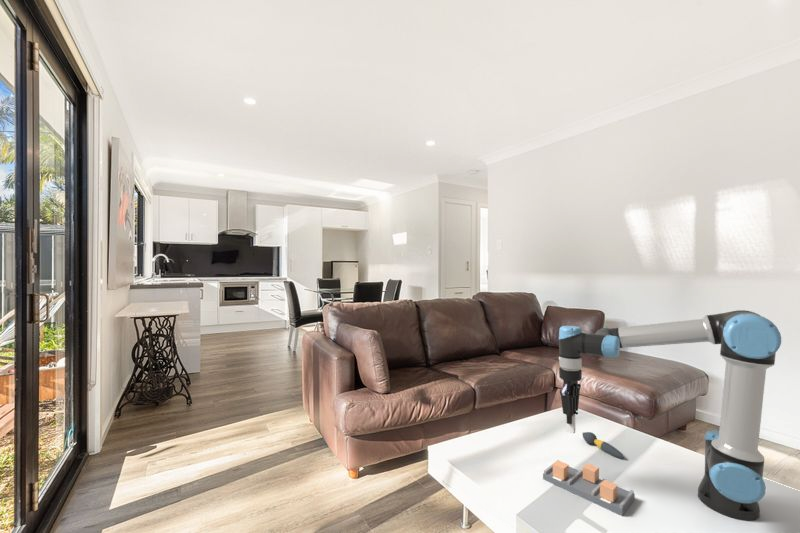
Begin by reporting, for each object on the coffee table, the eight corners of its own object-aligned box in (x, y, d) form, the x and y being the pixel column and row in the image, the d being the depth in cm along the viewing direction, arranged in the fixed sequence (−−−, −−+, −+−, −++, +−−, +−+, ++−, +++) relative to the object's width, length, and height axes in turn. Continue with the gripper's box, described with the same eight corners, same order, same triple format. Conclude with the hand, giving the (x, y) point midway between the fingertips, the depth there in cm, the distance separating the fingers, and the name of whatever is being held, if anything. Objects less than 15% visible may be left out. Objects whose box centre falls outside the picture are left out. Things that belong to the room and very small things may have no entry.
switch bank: (634, 499, 123) (634, 490, 123) (622, 516, 115) (622, 506, 115) (558, 467, 142) (558, 459, 142) (543, 479, 134) (543, 471, 134)
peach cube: (598, 478, 131) (599, 467, 131) (594, 483, 128) (594, 471, 128) (587, 473, 134) (587, 463, 134) (582, 478, 131) (582, 467, 131)
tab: (617, 496, 121) (617, 484, 120) (613, 502, 118) (613, 489, 118) (604, 491, 124) (604, 479, 123) (599, 496, 121) (599, 484, 121)
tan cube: (568, 475, 133) (568, 464, 132) (563, 480, 130) (563, 468, 130) (557, 470, 136) (557, 460, 135) (552, 475, 133) (552, 464, 133)
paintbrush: (629, 458, 149) (629, 446, 149) (622, 461, 146) (622, 449, 146) (583, 438, 166) (583, 427, 166) (576, 440, 164) (577, 429, 164)
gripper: (567, 362, 143) (568, 423, 143) (552, 369, 134) (552, 433, 134) (587, 366, 137) (588, 429, 137) (573, 373, 128) (573, 441, 128)
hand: (570, 431), depth 136 cm, fingers closed
